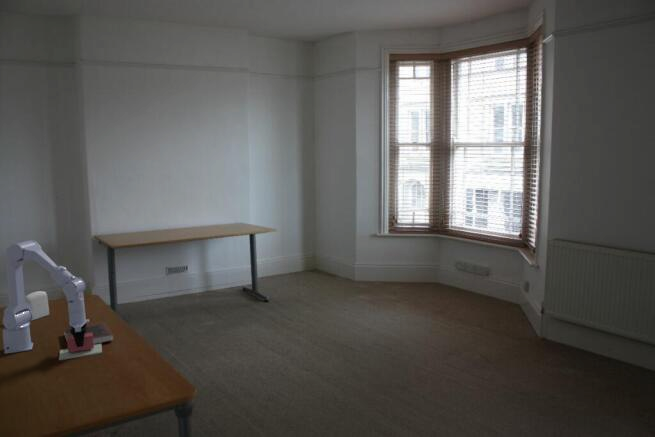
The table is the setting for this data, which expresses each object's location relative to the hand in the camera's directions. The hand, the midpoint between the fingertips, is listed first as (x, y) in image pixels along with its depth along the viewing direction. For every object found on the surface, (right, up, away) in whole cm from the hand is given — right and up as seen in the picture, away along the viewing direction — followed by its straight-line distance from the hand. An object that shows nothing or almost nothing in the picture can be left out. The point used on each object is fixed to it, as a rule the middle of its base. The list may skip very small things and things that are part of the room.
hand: (80, 344), depth 220 cm
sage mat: (0, -3, 0) cm, 3 cm away
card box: (0, -2, 0) cm, 2 cm away
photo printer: (-40, +2, +47) cm, 62 cm away
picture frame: (-3, -1, +16) cm, 16 cm away
